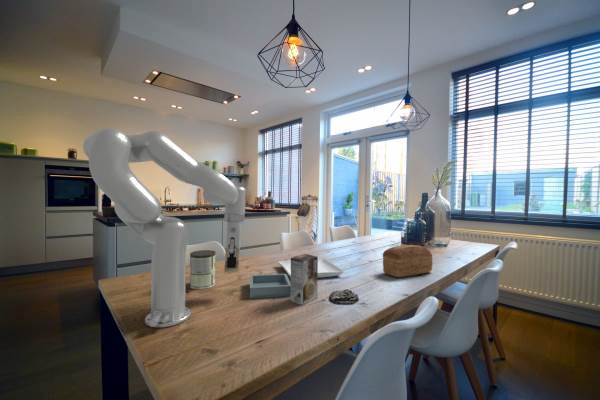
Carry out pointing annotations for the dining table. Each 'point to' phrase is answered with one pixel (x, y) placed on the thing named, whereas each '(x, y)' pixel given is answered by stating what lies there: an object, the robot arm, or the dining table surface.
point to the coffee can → (202, 269)
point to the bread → (407, 260)
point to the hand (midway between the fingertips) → (231, 265)
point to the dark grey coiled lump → (343, 297)
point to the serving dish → (269, 286)
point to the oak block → (236, 261)
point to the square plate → (323, 268)
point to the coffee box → (304, 278)
